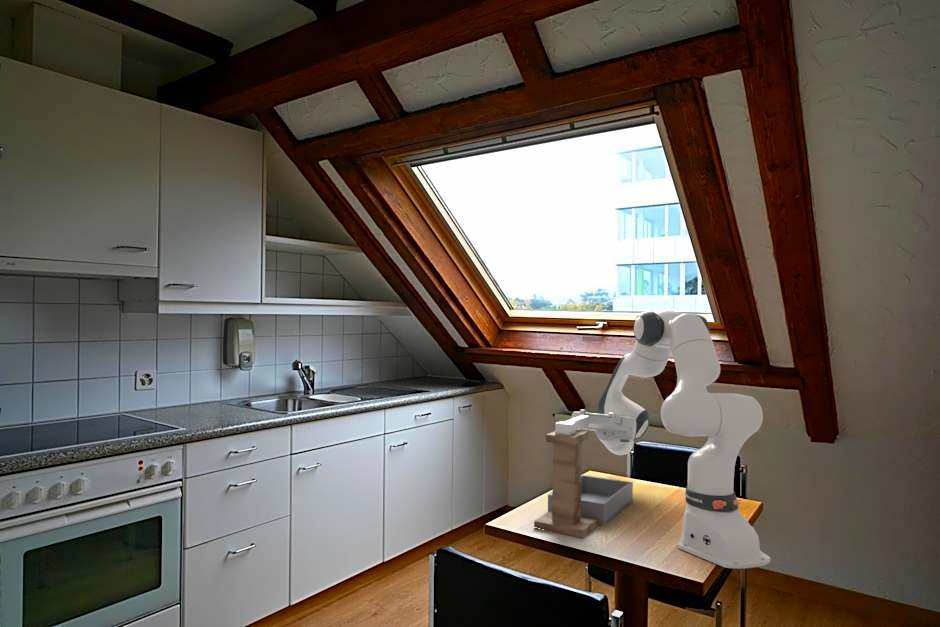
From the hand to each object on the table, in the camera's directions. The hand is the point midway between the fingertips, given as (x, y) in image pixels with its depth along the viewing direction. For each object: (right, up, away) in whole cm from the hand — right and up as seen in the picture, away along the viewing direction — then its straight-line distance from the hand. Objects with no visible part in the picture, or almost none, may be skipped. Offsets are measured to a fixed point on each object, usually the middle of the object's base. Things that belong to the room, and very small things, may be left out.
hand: (596, 413), depth 195 cm
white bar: (-9, -2, -15) cm, 18 cm away
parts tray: (-2, -28, -3) cm, 28 cm away
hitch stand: (-12, -28, -20) cm, 37 cm away
